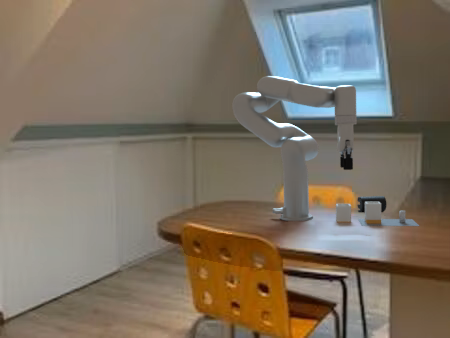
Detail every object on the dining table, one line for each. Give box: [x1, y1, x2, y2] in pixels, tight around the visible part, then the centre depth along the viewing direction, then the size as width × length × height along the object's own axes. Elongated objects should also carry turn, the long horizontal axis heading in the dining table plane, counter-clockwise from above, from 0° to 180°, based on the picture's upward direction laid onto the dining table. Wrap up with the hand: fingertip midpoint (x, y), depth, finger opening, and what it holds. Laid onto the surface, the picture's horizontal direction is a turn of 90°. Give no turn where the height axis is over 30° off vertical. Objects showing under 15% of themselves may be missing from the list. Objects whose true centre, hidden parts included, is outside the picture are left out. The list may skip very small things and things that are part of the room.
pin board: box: [357, 210, 420, 227], centre depth 179 cm, size 19×12×6 cm, turn 81°
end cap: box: [356, 195, 387, 213], centre depth 207 cm, size 10×7×7 cm
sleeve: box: [335, 203, 352, 224], centre depth 183 cm, size 5×5×7 cm
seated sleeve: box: [364, 202, 382, 224], centre depth 180 cm, size 5×5×7 cm
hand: (346, 168), depth 183 cm, fingers open, 9 cm apart
